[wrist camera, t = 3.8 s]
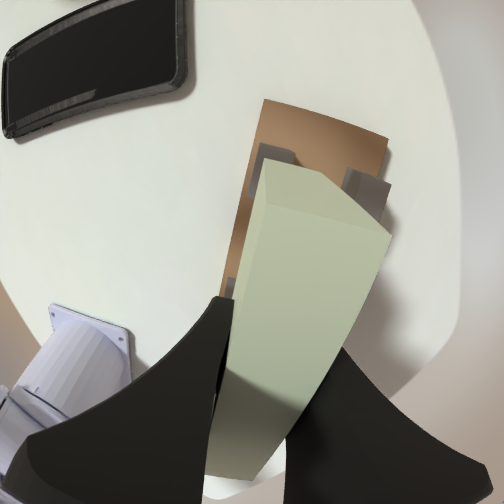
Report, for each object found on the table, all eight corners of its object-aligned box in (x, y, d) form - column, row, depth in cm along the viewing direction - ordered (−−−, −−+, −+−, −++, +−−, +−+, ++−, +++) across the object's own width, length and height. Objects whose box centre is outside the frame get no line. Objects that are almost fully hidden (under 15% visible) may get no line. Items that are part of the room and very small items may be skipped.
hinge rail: (306, 341, 20) (312, 376, 17) (213, 324, 20) (205, 358, 17) (381, 137, 14) (409, 142, 11) (264, 100, 14) (265, 92, 11)
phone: (3, 52, 10) (183, -25, 10) (12, 53, 12) (187, -18, 11) (3, 143, 14) (185, 89, 13) (12, 141, 15) (190, 91, 14)
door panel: (256, 373, 14) (252, 480, 8) (217, 366, 14) (199, 473, 8) (320, 172, 9) (392, 236, 4) (264, 158, 9) (266, 203, 4)
